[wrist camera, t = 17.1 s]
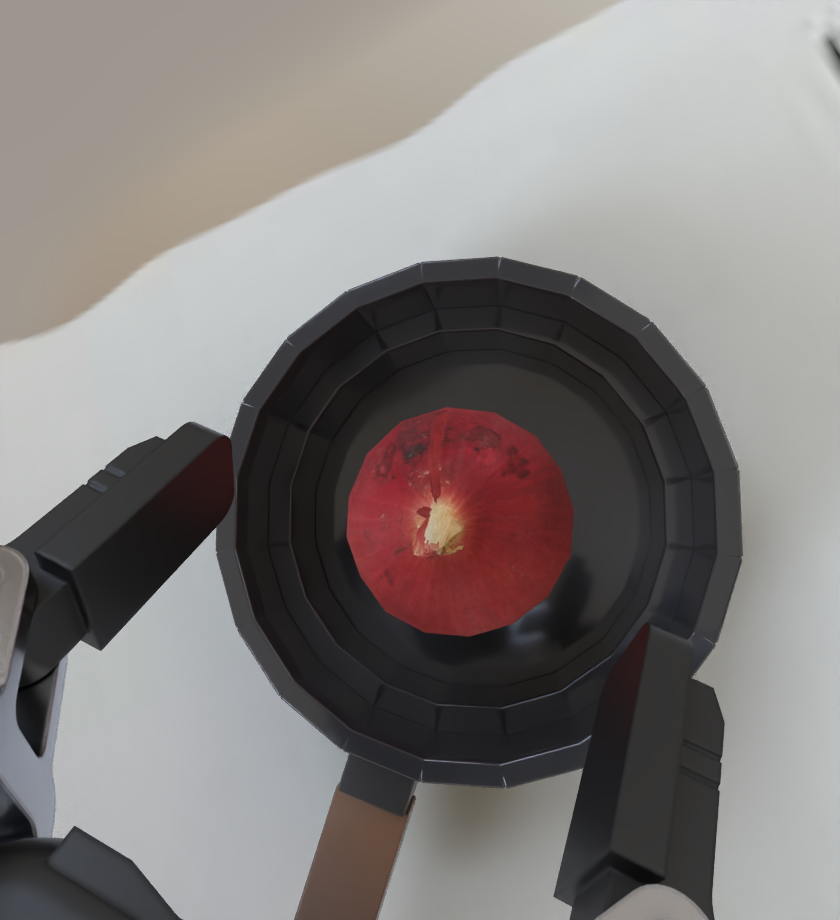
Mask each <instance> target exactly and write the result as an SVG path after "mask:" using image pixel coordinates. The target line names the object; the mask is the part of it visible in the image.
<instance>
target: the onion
mask: <svg viewBox="0 0 840 920" xmlns="http://www.w3.org/2000/svg"><path fill="white" fill-rule="evenodd" d="M573 518H574V508H573V505H572V502H571V499H570V496H569V493H568V490H567V486H566V483H565V480H564V477H563V474H562V471H561V469H560V468H559V466H558V465H557V464H556V462H555V461H554V460H553V458H552V457H551V456H550V454H549V453H548V451H547V450H546V449H545V447H544V446H543V445H542V443H541V442H540V441H539V439H538V438H537V437H536V436H535V435H533V434H532V433H530V432H528V431H526V430H525V429H523V428H521V427H519V426H518V425H516V424H514V423H512V422H511V421H509V420H507V419H505V418H504V417H502V416H500V415H498V414H497V413H495V412H487V411H478V410H469V409H460V408H451V407H446V408H442V409H439V410H436V411H433V412H430V413H427V414H423V415H420V416H417V417H414V418H411V419H407V420H404V421H401V422H400V423H399V424H398V425H397V426H396V427H395V428H393V429H392V430H391V431H390V432H389V433H388V434H387V435H386V436H385V437H384V438H383V439H382V440H381V441H380V442H379V443H378V444H377V445H376V446H375V447H374V448H372V449H371V450H370V451H369V452H368V453H367V455H366V457H365V460H364V462H363V464H362V467H361V469H360V471H359V474H358V476H357V479H356V481H355V483H354V486H353V488H352V491H351V493H350V495H349V501H348V519H347V540H348V543H349V546H350V548H351V551H352V554H353V557H354V560H355V563H356V566H357V568H358V571H359V574H360V577H361V578H362V579H363V581H364V582H365V584H366V585H367V586H368V588H369V589H370V591H371V592H372V593H373V595H374V596H375V598H376V599H377V600H378V602H379V603H380V605H381V606H382V607H383V609H384V610H385V612H387V613H389V614H391V615H392V616H394V617H396V618H398V619H400V620H402V621H404V622H406V623H408V624H410V625H411V626H413V627H415V628H417V629H419V630H421V631H423V632H425V633H436V634H447V635H457V636H473V635H477V634H480V633H484V632H487V631H491V630H494V629H498V628H501V627H505V626H508V625H512V624H514V623H515V622H516V621H518V620H519V619H520V618H521V617H523V616H524V615H525V614H526V613H528V612H529V611H530V610H531V609H533V608H534V607H535V606H536V605H538V604H539V603H540V602H542V601H543V600H544V599H545V598H547V597H548V596H549V594H550V592H551V590H552V588H553V587H554V585H555V583H556V581H557V579H558V578H559V576H560V574H561V572H562V570H563V568H564V567H565V565H566V563H567V561H568V559H569V558H570V556H571V544H572V531H573Z"/></svg>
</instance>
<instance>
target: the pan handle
mask: <svg viewBox="0 0 840 920" xmlns="http://www.w3.org/2000/svg"><path fill="white" fill-rule="evenodd" d="M417 783H418V782H417V781H415V780H412V779H410V778H407V777H405V776H403V775H400V774H398V773H395V772H393V771H390V770H388V769H386V768H383V767H381V766H378V765H376V764H374V763H371V762H369V761H366V760H364V759H361V758H359V757H357V756H354V755H352V754H349V756H348V759H347V762H346V765H345V768H344V772H343V775H342V778H341V781H340V782H339V784H338V785H337V787H336V790H335V793H334V796H333V799H332V803H331V806H330V809H329V812H328V815H327V818H326V821H325V824H324V828H323V831H322V834H321V837H320V840H319V843H318V846H317V850H316V853H315V856H314V859H313V862H312V865H311V868H310V871H309V875H308V878H307V881H306V884H305V887H304V890H303V893H302V897H301V900H300V903H299V906H298V909H297V912H296V915H295V918H294V920H378V917H379V914H380V911H381V908H382V905H383V902H384V898H385V895H386V892H387V889H388V886H389V882H390V879H391V876H392V873H393V870H394V867H395V863H396V860H397V857H398V854H399V851H400V848H401V844H402V841H403V838H404V835H405V832H406V829H407V825H408V822H409V819H410V816H411V813H412V810H413V806H414V803H415V800H416V796H414V795H413V794H414V791H415V789H416V786H417Z"/></svg>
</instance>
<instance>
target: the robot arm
mask: <svg viewBox="0 0 840 920" xmlns="http://www.w3.org/2000/svg"><path fill="white" fill-rule="evenodd" d="M234 493H235V489H234V473H233V458H232V444H231V440H230V439H229V437H227V436H225V435H223V434H221V433H218V432H216V431H214V430H211V429H209V428H207V427H205V426H202V425H200V424H198V423H195V422H188V423H186V424H184V425H183V426H181V427H180V428H179V429H178V430H177V431H175V432H174V433H173V434H172V435H171V436H169V437H168V438H167V439H166V440H164V439H162V438H159V437H157V436H156V437H153V438H151V439H149V440H146V441H144V442H141V443H139V444H136V445H134V446H132V447H129V448H127V449H126V450H125V451H124V452H122V453H121V454H120V455H119V456H117V457H116V458H115V459H114V460H112V461H111V462H110V463H109V464H108V465H106V468H105V469H104V470H102V469H101V470H100V471H99V472H98V473H96V474H95V475H94V476H93V477H91V478H90V479H89V480H88V483H87V484H86V485H84V484H83V485H82V486H80V487H79V488H78V489H77V490H75V491H74V492H73V493H72V494H70V495H69V496H68V497H67V498H66V499H64V500H63V501H62V502H61V503H59V504H58V505H57V506H56V507H54V508H53V509H52V510H51V511H50V512H48V513H47V514H46V515H45V516H43V517H42V518H41V519H40V520H38V521H37V522H36V523H35V524H33V525H32V526H31V527H30V528H29V529H27V530H26V531H25V532H24V533H22V534H21V535H20V536H19V537H17V538H16V539H14V540H13V541H12V542H10V543H8V544H6V545H5V546H2V545H0V920H182V919H180V918H179V917H178V916H177V915H176V914H175V913H174V911H173V910H172V909H171V908H170V906H169V905H168V904H167V903H166V902H165V900H164V899H163V898H162V897H161V895H160V894H159V893H158V892H157V891H156V889H155V888H154V887H153V886H152V884H151V883H150V882H149V881H148V879H147V878H146V877H145V876H144V875H143V873H142V872H141V871H140V870H139V868H138V867H137V866H136V865H135V864H134V862H133V861H132V860H130V859H129V858H127V857H125V856H124V855H122V854H120V853H119V852H117V851H115V850H114V849H112V848H110V847H109V846H107V845H105V844H104V843H102V842H100V841H99V840H97V839H95V838H94V837H92V836H91V835H89V834H87V833H86V832H84V831H82V830H81V829H79V828H77V827H76V826H74V827H73V828H72V829H71V831H70V832H69V833H68V835H67V836H66V837H65V838H64V839H62V838H52V833H53V826H54V818H55V785H54V779H53V757H54V750H55V743H56V736H57V730H58V723H59V716H60V710H61V703H62V696H63V689H64V683H65V676H66V669H67V661H68V657H67V654H68V653H69V652H70V651H71V649H72V648H73V647H74V646H75V645H76V644H77V643H78V642H79V641H80V640H81V641H83V642H85V643H87V644H89V645H91V646H92V647H94V648H96V649H98V650H100V651H101V650H102V649H103V648H104V647H105V646H106V645H107V644H108V643H109V642H110V641H111V640H112V639H113V638H114V636H115V635H116V634H117V633H118V632H119V631H120V630H121V629H122V628H123V627H124V626H125V625H126V624H127V622H128V621H129V620H130V619H131V618H132V617H133V616H134V615H135V614H136V613H137V612H138V611H139V610H140V608H141V607H142V606H143V605H144V604H145V603H146V602H147V601H148V600H149V599H150V598H151V597H152V596H153V594H154V593H155V592H156V591H157V590H158V589H159V588H160V587H161V586H162V585H163V584H164V583H165V582H166V581H167V579H168V578H169V577H170V576H171V575H172V574H173V573H174V572H175V571H176V570H177V569H178V568H179V567H180V565H181V564H182V563H183V562H184V561H185V560H186V559H187V558H188V557H189V556H190V555H191V554H192V553H193V551H194V550H195V549H196V548H197V547H198V546H199V545H200V544H201V543H202V542H203V541H204V540H205V539H206V538H207V536H208V535H209V534H210V533H211V532H212V531H213V530H214V529H215V528H216V527H217V526H218V525H219V524H220V522H221V521H222V520H223V519H224V517H225V516H226V515H227V513H228V511H229V509H230V507H231V505H232V502H233V498H234ZM693 651H694V649H693V643H692V642H691V641H690V640H687V639H685V638H683V637H681V636H678V635H676V634H674V633H671V632H669V631H667V630H665V629H662V628H660V627H658V626H655V625H653V624H651V623H649V622H646V623H645V624H644V625H643V626H642V627H641V629H640V630H639V631H638V633H637V634H636V635H635V637H634V638H633V640H632V641H631V642H630V644H629V645H628V647H627V648H626V649H625V651H624V652H623V653H622V655H621V656H620V658H619V659H618V660H617V662H616V663H615V665H614V666H613V668H612V669H611V671H610V673H609V675H608V678H607V680H606V682H605V685H604V687H603V690H602V693H601V697H600V701H599V705H598V709H597V713H596V718H595V722H594V726H593V730H592V735H591V739H590V743H589V747H588V752H587V756H586V760H585V764H584V769H583V773H582V777H581V782H580V786H579V790H578V794H577V799H576V803H575V807H574V811H573V816H572V820H571V824H570V828H569V833H568V837H567V841H566V845H565V850H564V854H563V858H562V862H561V867H560V871H559V875H558V880H557V884H556V888H555V892H554V897H555V898H557V899H559V900H561V901H563V902H564V903H566V904H568V905H570V906H572V911H571V916H570V920H715V919H714V914H713V906H712V888H713V875H714V861H715V847H716V834H717V820H718V806H719V792H720V791H719V790H718V787H719V785H720V779H721V765H722V763H720V759H721V757H722V751H723V738H724V724H725V723H724V720H723V716H722V713H721V710H720V707H719V704H718V701H717V697H716V694H715V691H714V688H713V687H710V686H708V685H706V684H704V683H701V682H699V681H697V680H695V679H692V678H690V677H691V669H692V661H693Z"/></svg>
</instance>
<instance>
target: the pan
mask: <svg viewBox="0 0 840 920" xmlns="http://www.w3.org/2000/svg"><path fill="white" fill-rule="evenodd" d="M705 387H706V386H705V384H704V382H703V381H702V380H701V379H700V378H699V377H698V375H697V374H696V373H695V372H694V371H693V369H692V368H691V367H690V366H689V365H688V363H687V362H686V361H685V360H684V359H683V358H682V356H681V355H680V354H679V353H678V352H677V350H676V349H675V348H674V347H673V346H672V344H671V343H670V342H669V341H668V340H667V338H666V337H665V336H664V335H663V334H662V333H661V331H660V330H659V329H658V328H657V327H656V325H655V324H654V323H653V322H650V320H649V319H648V318H647V317H645V316H643V315H642V314H640V313H638V312H637V311H635V310H634V309H632V308H630V307H629V306H627V305H625V304H624V303H622V302H621V301H619V300H617V299H616V298H614V297H612V296H611V295H609V294H608V293H606V292H604V291H603V290H601V289H599V288H598V287H596V286H595V285H593V284H591V283H590V282H588V281H587V280H585V279H583V278H581V277H580V278H579V277H578V276H577V275H573V274H569V273H564V272H560V271H556V270H552V269H548V268H544V267H540V266H536V265H532V264H528V263H524V262H520V261H515V260H511V259H507V258H503V257H501V258H499V257H487V258H473V259H458V260H443V261H428V262H421V264H420V263H417V264H414V265H412V266H409V267H407V268H404V269H401V270H399V271H396V272H394V273H391V274H388V275H386V276H383V277H381V278H378V279H376V280H373V281H370V282H368V283H365V284H363V285H360V286H357V287H355V288H352V289H350V290H348V292H347V291H346V292H344V293H343V294H342V295H340V296H339V297H338V298H337V299H335V300H334V301H333V302H331V303H330V304H329V305H328V306H326V307H325V308H324V309H323V310H321V311H320V312H319V313H317V314H316V315H315V316H314V317H312V318H311V319H310V320H309V321H307V322H306V323H305V324H303V325H302V326H301V327H300V328H298V329H297V330H296V331H295V332H293V333H292V334H291V335H290V336H288V337H287V339H286V340H285V341H284V342H283V344H282V345H281V347H280V348H279V349H278V351H277V352H276V354H275V355H274V357H273V358H272V359H271V361H270V362H269V364H268V365H267V367H266V368H265V369H264V371H263V372H262V374H261V375H260V377H259V378H258V379H257V381H256V382H255V384H254V385H253V387H252V388H251V389H250V391H249V392H248V394H247V395H246V397H245V398H244V400H243V401H244V402H242V404H241V406H240V409H239V412H238V416H237V419H236V422H235V425H234V428H233V431H232V434H231V437H230V440H231V444H232V458H233V473H234V489H235V493H234V498H233V502H232V505H231V507H230V509H229V511H228V513H227V515H226V516H225V517H224V519H223V520H222V521H221V522H220V524H219V525H218V526H217V527H216V552H218V553H217V559H218V562H219V566H220V570H221V574H222V577H223V581H224V585H225V588H226V592H227V596H228V599H229V603H230V607H231V610H232V614H233V618H234V621H235V625H236V627H237V628H238V632H239V634H240V635H241V637H242V638H243V640H244V641H245V643H246V645H247V646H248V648H249V649H250V651H251V653H252V654H253V656H254V657H255V659H256V661H257V662H258V664H259V665H260V667H261V668H262V670H263V672H264V673H265V675H266V676H267V678H268V680H269V681H270V683H271V684H272V686H273V688H274V689H275V691H276V692H277V694H278V695H279V696H281V699H282V700H284V701H285V702H286V703H287V704H288V705H289V706H291V707H292V708H293V709H294V710H295V711H297V712H298V713H299V714H300V715H301V716H302V717H304V718H305V719H306V720H307V721H308V722H309V723H311V724H312V725H313V726H314V727H315V728H316V729H318V730H319V731H320V732H321V733H322V734H324V735H325V736H326V737H327V738H328V739H329V740H331V741H332V742H333V743H334V744H335V745H336V746H338V747H339V748H340V749H343V751H345V752H347V753H349V754H352V755H354V756H357V757H359V758H361V759H364V760H366V761H369V762H371V763H374V764H376V765H378V766H381V767H383V768H386V769H388V770H390V771H393V772H395V773H398V774H400V775H403V776H405V777H407V778H410V779H412V780H415V781H417V782H420V781H421V782H422V783H433V784H447V785H461V786H475V787H489V788H505V787H506V788H511V787H515V786H519V785H523V784H526V783H530V782H534V781H538V780H541V779H545V778H549V777H553V776H556V775H560V774H564V773H568V772H572V771H575V770H579V769H583V768H584V764H585V760H586V756H587V752H588V747H589V743H590V739H591V735H592V730H593V726H594V722H595V718H596V713H597V709H598V705H599V701H600V697H601V693H602V690H603V687H604V685H605V682H606V680H607V678H608V675H609V673H610V671H611V669H612V668H613V666H614V665H615V663H616V662H617V660H618V659H619V658H620V656H621V655H622V653H623V652H624V651H625V649H626V648H627V647H628V645H629V644H630V642H631V641H632V640H633V638H634V637H635V635H636V634H637V633H638V631H639V630H640V629H641V627H642V626H643V625H644V624H645V623H646V622H649V623H651V624H653V625H655V626H658V627H660V628H662V629H665V630H667V631H669V632H671V633H674V634H676V635H678V636H681V637H683V638H685V639H687V640H690V641H691V642H692V643H693V649H694V651H693V661H692V669H691V677H690V678H692V677H693V676H694V675H695V673H696V672H697V671H698V669H699V668H700V667H701V665H702V664H703V663H704V661H705V660H706V658H707V657H708V656H709V654H710V653H711V652H712V650H713V649H714V648H715V645H716V644H715V643H717V642H718V639H719V636H720V633H721V629H722V626H723V623H724V619H725V616H726V613H727V609H728V606H729V603H730V600H731V596H732V593H733V590H734V586H735V583H736V580H737V576H738V573H739V570H740V566H741V563H742V558H741V557H742V556H743V544H742V521H741V498H740V475H739V470H738V469H737V468H738V464H737V462H736V459H735V457H734V454H733V452H732V449H731V446H730V444H729V441H728V439H727V436H726V434H725V431H724V429H723V426H722V424H721V421H720V418H719V416H718V413H717V411H716V408H715V406H714V403H713V401H712V398H711V396H710V393H709V390H708V389H707V388H705ZM446 407H451V408H460V409H469V410H478V411H487V412H495V413H497V414H498V415H500V416H502V417H504V418H505V419H507V420H509V421H511V422H512V423H514V424H516V425H518V426H519V427H521V428H523V429H525V430H526V431H528V432H530V433H532V434H533V435H535V436H536V437H537V438H538V439H539V441H540V442H541V443H542V445H543V446H544V447H545V449H546V450H547V451H548V453H549V454H550V456H551V457H552V458H553V460H554V461H555V462H556V464H557V465H558V466H559V468H560V469H561V471H562V474H563V477H564V480H565V483H566V486H567V490H568V493H569V496H570V499H571V502H572V505H573V508H574V518H573V531H572V544H571V556H570V558H569V559H568V561H567V563H566V565H565V567H564V568H563V570H562V572H561V574H560V576H559V578H558V579H557V581H556V583H555V585H554V587H553V588H552V590H551V592H550V594H549V596H548V597H547V598H545V599H544V600H543V601H542V602H540V603H539V604H538V605H536V606H535V607H534V608H533V609H531V610H530V611H529V612H528V613H526V614H525V615H524V616H523V617H521V618H520V619H519V620H518V621H516V622H515V623H514V624H512V625H508V626H505V627H501V628H498V629H494V630H491V631H487V632H484V633H480V634H477V635H473V636H457V635H447V634H436V633H425V632H423V631H421V630H419V629H417V628H415V627H413V626H411V625H410V624H408V623H406V622H404V621H402V620H400V619H398V618H396V617H394V616H392V615H391V614H389V613H387V612H385V610H384V609H383V607H382V606H381V605H380V603H379V602H378V600H377V599H376V598H375V596H374V595H373V593H372V592H371V591H370V589H369V588H368V586H367V585H366V584H365V582H364V581H363V579H362V578H361V577H360V574H359V571H358V568H357V566H356V563H355V560H354V557H353V554H352V551H351V548H350V546H349V543H348V540H347V519H348V501H349V495H350V493H351V491H352V488H353V486H354V483H355V481H356V479H357V476H358V474H359V471H360V469H361V467H362V464H363V462H364V460H365V457H366V455H367V453H368V452H369V451H370V450H371V449H372V448H374V447H375V446H376V445H377V444H378V443H379V442H380V441H381V440H382V439H383V438H384V437H385V436H386V435H387V434H388V433H389V432H390V431H391V430H392V429H393V428H395V427H396V426H397V425H398V424H399V423H400V422H401V421H404V420H407V419H411V418H414V417H417V416H420V415H423V414H427V413H430V412H433V411H436V410H439V409H442V408H446Z"/></svg>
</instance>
